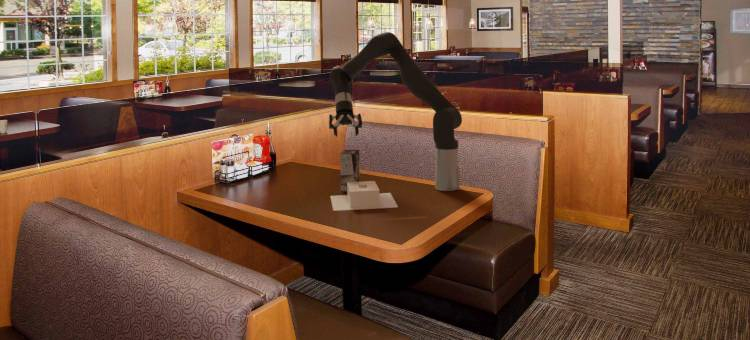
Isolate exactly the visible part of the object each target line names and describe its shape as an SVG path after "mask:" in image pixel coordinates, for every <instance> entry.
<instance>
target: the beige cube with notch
mask: <svg viewBox="0 0 750 340" xmlns="http://www.w3.org/2000/svg"><path fill="white" fill-rule="evenodd" d="M346 195H347V198H348V201H349V205H350V207H367V206H380V189H379V187H378V185H377V183H376V181H375V180H370V181H368V180H367V181H360V182H347V191H346Z"/></svg>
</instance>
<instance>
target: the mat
mask: <svg viewBox="0 0 750 340" xmlns="http://www.w3.org/2000/svg"><path fill="white" fill-rule="evenodd" d="M329 197H330V201H331V206H332V211H333V212H334V211H335V212H338V211H340V212H341V211H354V210H357V211H358V210H370V209H371V210H372V209H389V208H391V209H392V208H393V209H394V208H398V207H399V206H398V204H397V202H396V201H395V199H394V196H393V195H392V194H391V192H382V193H380V206H367V207H350V205H349V201H348V198H347V194H343V195H330V196H329Z"/></svg>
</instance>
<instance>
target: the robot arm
mask: <svg viewBox="0 0 750 340" xmlns="http://www.w3.org/2000/svg"><path fill="white" fill-rule="evenodd" d="M385 56H390V57H391V58H392V59H393V60H394V61H395V63H397V66H398V68H399V75H400V77H401V78H400V79H401V81H402V83H403V85H404V86H405V87H406V88H407V89H408V91H409V92H410V93H411V94H412V95H414V97H415V98H417V99H419V100H420V101H422V102H424V103H425V104H427V106H429V107H430V108H431V109H432V110H434V112H435V113H434V115H433V118H432V134H433V135H432V137H433V141H434V145H435V151H434V152H435V157H434V158H435V162H434V166H435V167H434V168H435V169H434V170H435V172H434V173H435V174H434V175H435V176H434V177H435V178H434V181H435V183H434V186H435V187H434V189H435V190H437V191H441V192H452V191H457V190H459V191H460V166H459V141H458V140H457V139H456V138H455V133H454V132H455V129H458V128H459V127H460V126H461V125H462V122H463V118H462V114H461V112H460V111H459V109H458V108H457V107H456V106H455V105H454V104H452V103H451V102H450V100H449V99H447V97H445V96H444V95H443V94H442V92H441V91H440V90H439V89H438V88H437V87H436V85H435V84H434V83H433V82H432V81H431V79H430V78H429V77H428V76H427V74H426V73H425V72H424V71H423V70H422V68H421V67H420V66H419V65H418V64H417V63H416V62H415V60H414V59H413V57H411V56H410V54H409V53H408V51H407V50H406V49H405V47H404V46H403V44H402V42H401V41H400V40H399V39H398V37H397V35H395V34H394V33H392V32H390V31H386V32H382V33H379V34H376V35H374V36H372V37H371V38H370V40H369V41H368V42H367V43H366V45H364V46H363V48H362V49H361V50H360V51H359V52H358V53H357V54H355V55H354V56H353V57H352V58H350V59H349V60H347V61H346V63H345V64H344V66H343V68H342V67H340V66H334V67H332V69H331V70H330V73H329V80H330V83H331V85H332V87H333V90H334V97H335V98H334V99H335V100H334V106H335V115H332V114H329V117H328V118H329V119H328V121H329V122H328V123H329V124H328V126H329V127H328V128H329V129H330V130H331V129H332V130H333V136H335V137H338V128H339V127H340V126H345V125H346V126H351V127H352V128H354V134H355V137H358V135H359V133H360V132H359V129H361V128H363V120H362V119H363V118H362V114H361V113H358V114H355V113H354V106H353V105H354V104H353V98H352V94H351V87H350V85H351V84H352V82H353V81H354V79H355V78H356V76H357V75H358V74H360V73H361V72H362V71H363V70H365V69H366V68H367V66H368V64H369V63H370V62H371V61H373V60H375V59H377V58H381V57H385ZM335 120H336V121H335ZM333 121H335V122H334V123H333ZM356 121H358V122H356Z"/></svg>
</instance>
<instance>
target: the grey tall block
mask: <svg viewBox="0 0 750 340" xmlns="http://www.w3.org/2000/svg"><path fill="white" fill-rule="evenodd" d="M339 160H340V161H339V166H340V167H339V168H340V169H339V170H340V173H339V174H340V191H341V192H347V182H361V171H360V170H361V168H360V167H361V165H360V149H344V150H343V151H341V153H339Z"/></svg>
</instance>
